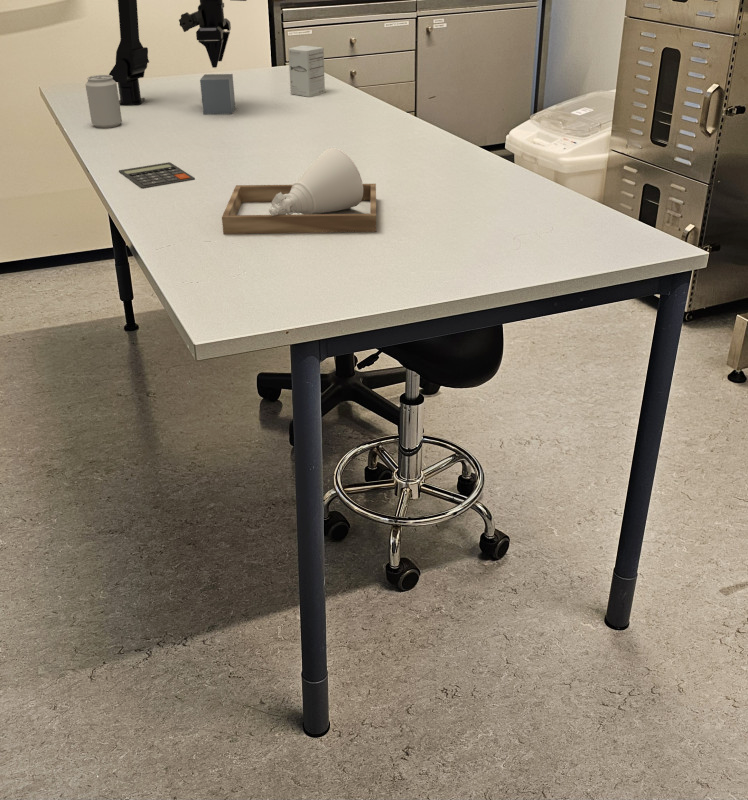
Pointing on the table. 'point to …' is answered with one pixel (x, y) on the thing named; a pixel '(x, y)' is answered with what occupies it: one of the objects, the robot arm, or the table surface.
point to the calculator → (156, 175)
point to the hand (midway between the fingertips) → (217, 64)
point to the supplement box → (306, 70)
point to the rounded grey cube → (217, 93)
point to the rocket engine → (323, 187)
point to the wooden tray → (292, 222)
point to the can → (103, 101)
